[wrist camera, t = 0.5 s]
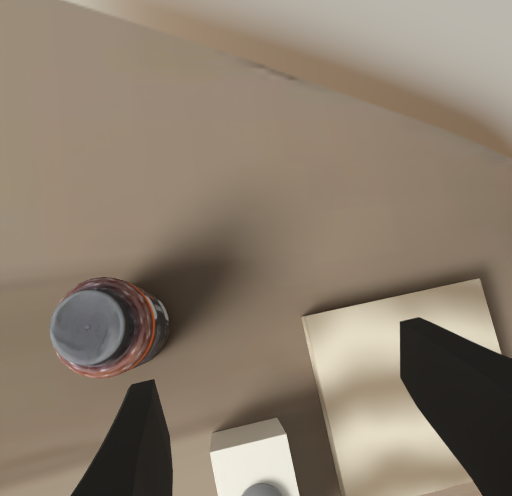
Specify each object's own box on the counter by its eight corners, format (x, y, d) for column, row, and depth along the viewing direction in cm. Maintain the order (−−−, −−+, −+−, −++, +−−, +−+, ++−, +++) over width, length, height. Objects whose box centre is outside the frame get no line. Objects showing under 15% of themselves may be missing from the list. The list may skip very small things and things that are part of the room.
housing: (300, 528, 34) (316, 570, 28) (233, 545, 34) (235, 592, 28) (276, 417, 35) (287, 435, 29) (212, 432, 35) (209, 454, 29)
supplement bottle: (172, 288, 36) (148, 271, 25) (169, 366, 35) (143, 385, 24) (94, 287, 36) (35, 270, 25) (89, 366, 35) (25, 386, 24)
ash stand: (516, 457, 36) (533, 465, 34) (343, 502, 34) (350, 513, 32) (466, 280, 38) (479, 278, 36) (301, 316, 36) (305, 316, 34)
